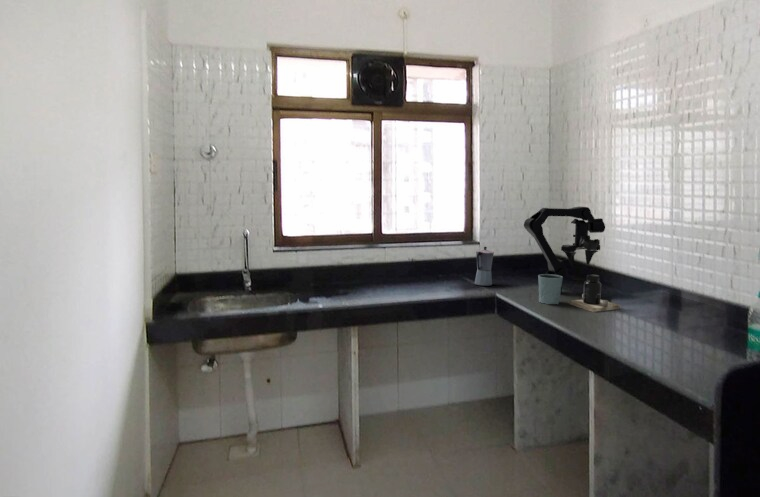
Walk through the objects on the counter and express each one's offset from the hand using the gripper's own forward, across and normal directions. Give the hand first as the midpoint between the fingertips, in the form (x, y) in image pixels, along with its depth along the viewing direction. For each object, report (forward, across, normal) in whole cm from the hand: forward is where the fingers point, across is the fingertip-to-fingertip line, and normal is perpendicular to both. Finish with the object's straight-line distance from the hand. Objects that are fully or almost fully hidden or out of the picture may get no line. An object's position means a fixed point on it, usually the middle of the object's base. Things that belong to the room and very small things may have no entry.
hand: (580, 265), depth 237 cm
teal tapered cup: (+13, -27, -13) cm, 33 cm away
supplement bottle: (+12, -15, -25) cm, 32 cm away
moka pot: (+13, -34, +31) cm, 48 cm away
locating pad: (+13, -14, -26) cm, 32 cm away
